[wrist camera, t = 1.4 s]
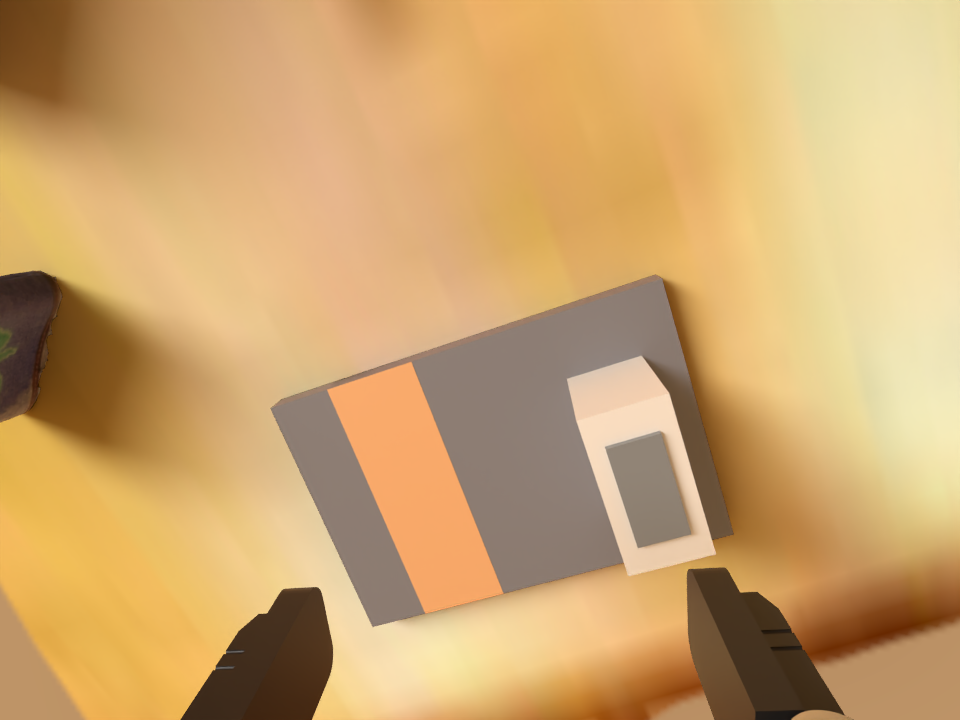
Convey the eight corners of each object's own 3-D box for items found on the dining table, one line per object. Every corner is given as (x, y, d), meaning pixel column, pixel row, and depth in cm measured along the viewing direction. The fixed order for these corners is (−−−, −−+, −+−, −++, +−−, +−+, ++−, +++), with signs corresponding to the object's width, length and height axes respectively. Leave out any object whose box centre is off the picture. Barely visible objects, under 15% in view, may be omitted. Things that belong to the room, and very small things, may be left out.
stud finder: (641, 355, 30) (671, 395, 24) (681, 489, 32) (718, 558, 26) (566, 378, 31) (576, 423, 25) (610, 509, 32) (629, 580, 26)
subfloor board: (655, 274, 30) (662, 278, 29) (724, 519, 34) (734, 534, 32) (281, 399, 34) (270, 408, 32) (378, 610, 37) (372, 627, 36)
